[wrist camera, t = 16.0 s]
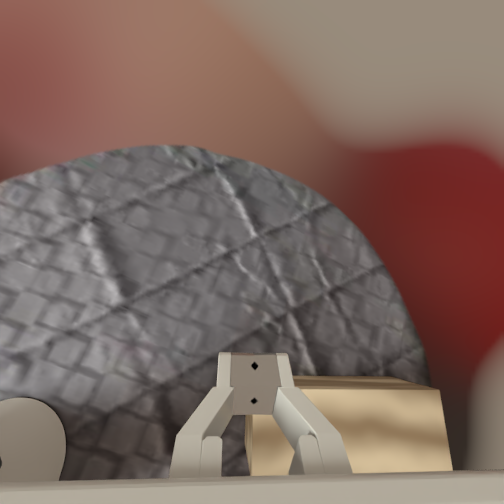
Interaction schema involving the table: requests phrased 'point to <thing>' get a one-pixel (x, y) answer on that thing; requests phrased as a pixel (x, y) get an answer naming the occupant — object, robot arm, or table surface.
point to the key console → (362, 426)
